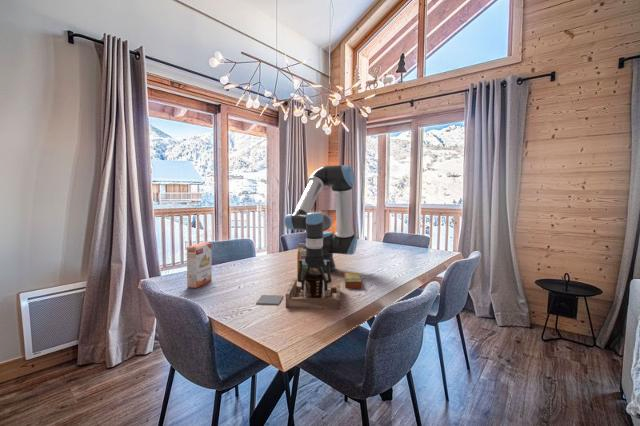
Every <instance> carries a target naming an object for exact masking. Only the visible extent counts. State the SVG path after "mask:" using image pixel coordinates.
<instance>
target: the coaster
mask: <svg viewBox="0 0 640 426" xmlns="http://www.w3.org/2000/svg"><path fill="white" fill-rule="evenodd" d="M283 298H284V295H283V294H282V295H280V294H279V295H278V294H277V295H275V294H261V295H260V297H259V299H258V300H257V301H256V303H255V305H263V306H264V305H265V306H266V305H267V306H269V305H270V306H273V305H274V306H279V305H280V304H281V301H282V300H283Z"/></svg>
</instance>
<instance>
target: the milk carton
mask: <svg viewBox="0 0 640 426" xmlns="http://www.w3.org/2000/svg"><path fill="white" fill-rule="evenodd" d="M306 248H307V246H306V243H298V249H297V252H296V253H297V254H296V255H297V259H296V261H297V270H296V271H297V272H296V273H297V277H296V278H297V280H298V274H299V267H300V264H299V261H300V259H302V260H303V259H305V258H306ZM307 268H308V265H307V263H306V262H304V264H303V268H302V275H301V279H303V277H304V275H305V272H306V270H307ZM309 271H318V268H310V270H309Z"/></svg>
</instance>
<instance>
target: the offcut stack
mask: <svg viewBox="0 0 640 426" xmlns="http://www.w3.org/2000/svg"><path fill="white" fill-rule="evenodd" d="M323 283H324V281H323ZM328 287H329V283H328V284H327V291H325V297H326V296H327V297H331V294H332V292H331V288H328ZM300 295H301V296H304V290H301V291H300ZM306 296H307V291H306ZM321 297H323V289H322V295H321Z"/></svg>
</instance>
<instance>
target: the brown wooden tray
mask: <svg viewBox="0 0 640 426" xmlns="http://www.w3.org/2000/svg"><path fill="white" fill-rule="evenodd" d="M297 280H298V279H297V277H293V278H292V281H291V283H290V284H289V286H288V288H287V290H286V292H285V308H290V309H291V308H292V309H314V310H315V309H316V308H317V309H319V308H320V309H321V310H322V308H324V309H323V310H340V309H341V279H340V278H337V279H336V286H328V288H331V293H336V294H335V295H336V298H330V297H328V298H327V297H326V298H325V297H324V298H323V297H321V298H307V297H306V298H304V297H295V295H296V293H297V291H298V292H301V290H302V285H298V281H297Z"/></svg>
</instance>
